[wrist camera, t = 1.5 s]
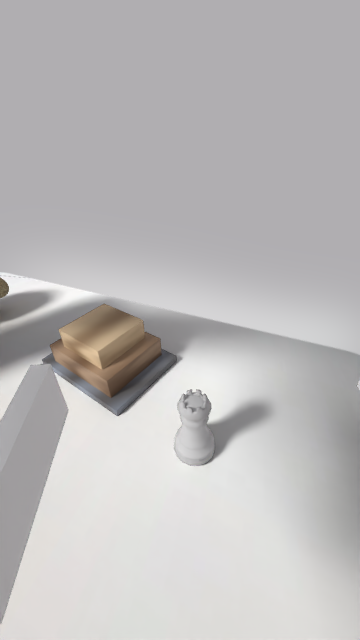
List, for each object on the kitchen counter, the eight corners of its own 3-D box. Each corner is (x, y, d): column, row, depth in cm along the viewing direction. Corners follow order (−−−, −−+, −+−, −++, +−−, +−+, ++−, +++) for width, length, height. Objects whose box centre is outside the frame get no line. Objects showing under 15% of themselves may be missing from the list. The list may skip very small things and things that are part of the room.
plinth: (43, 364, 43) (28, 326, 39) (104, 325, 51) (97, 291, 47) (117, 416, 35) (107, 375, 31) (176, 360, 43) (174, 322, 39)
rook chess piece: (188, 423, 34) (187, 375, 29) (222, 443, 32) (226, 394, 27) (165, 453, 31) (160, 404, 26) (201, 477, 29) (201, 428, 24)
